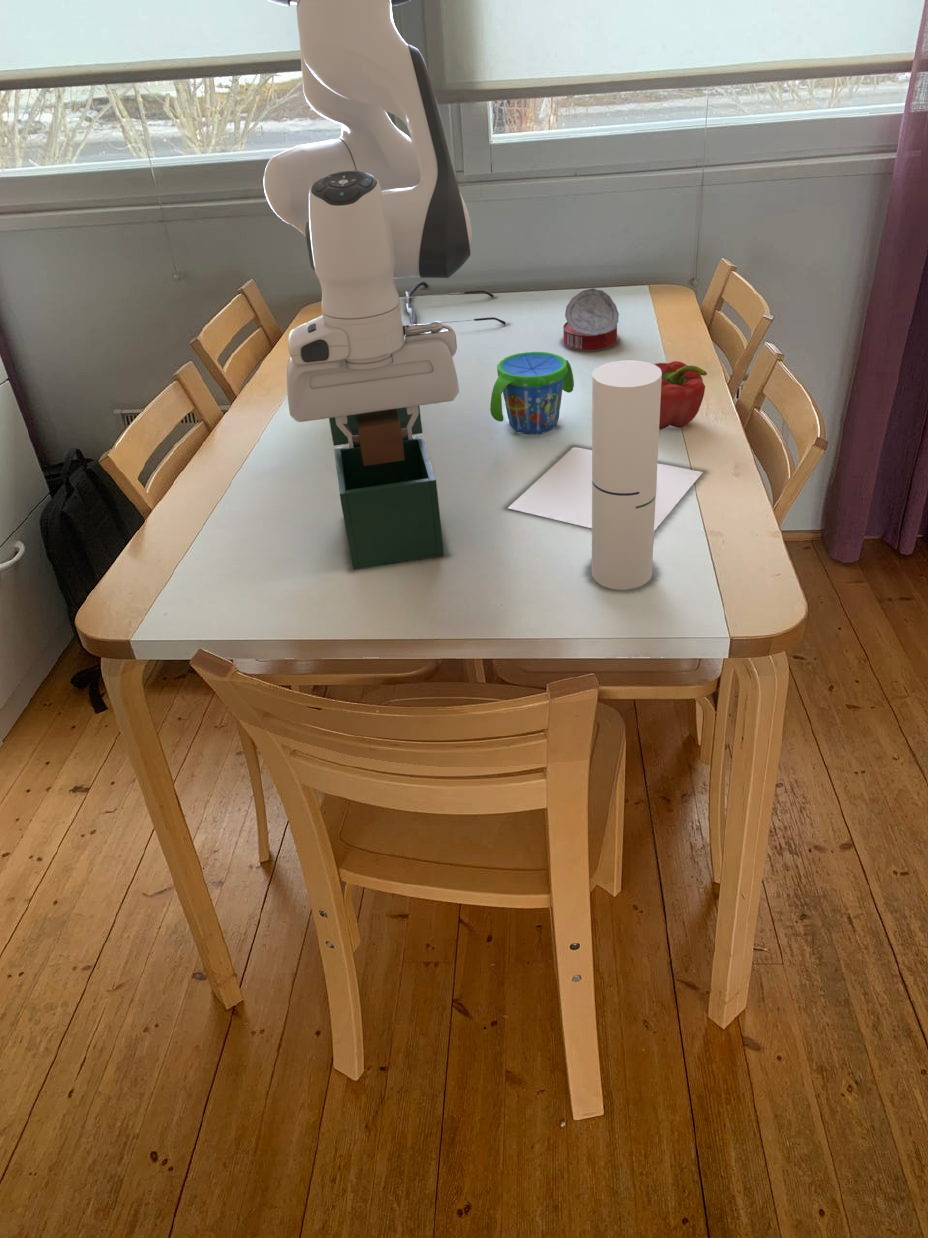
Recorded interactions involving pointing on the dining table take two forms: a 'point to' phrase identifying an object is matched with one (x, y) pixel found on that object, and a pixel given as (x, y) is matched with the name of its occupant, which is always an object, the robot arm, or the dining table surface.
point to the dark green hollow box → (389, 506)
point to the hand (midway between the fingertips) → (380, 442)
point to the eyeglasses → (452, 321)
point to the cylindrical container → (624, 471)
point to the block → (380, 437)
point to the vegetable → (680, 393)
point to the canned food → (590, 321)
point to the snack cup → (531, 390)
